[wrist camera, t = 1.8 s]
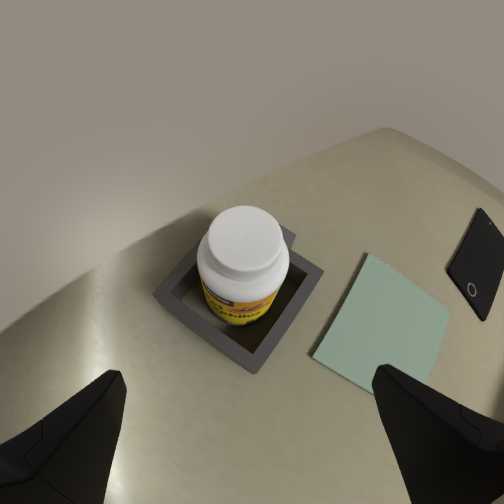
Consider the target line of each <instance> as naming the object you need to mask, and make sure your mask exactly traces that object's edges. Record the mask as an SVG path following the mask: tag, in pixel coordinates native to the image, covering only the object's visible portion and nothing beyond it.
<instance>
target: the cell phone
mask: <svg viewBox="0 0 504 504" xmlns="http://www.w3.org/2000/svg"><path fill="white" fill-rule="evenodd" d="M503 271H504V237H503V235H502V234H501V232H500V231H499V230H498V228H497V227H496V226H495V224H494V223H493V222H492V220H491V219H490V218H489V217H488V215H487V214H486V213H485V211H484V210H483V209H482V208H480V209H479V210H478V212H477V214H476V216H475V218H474V220H473V222H472V224H471V227H470V229H469V231H468V233H467V235H466V237H465V239H464V241H463V242H462V244H461V246H460V248H459V250H458V252H457V254H456V255H455V257H454V259H453V261H452V262H451V264H450V266H449V268H448V269H447V274H448V275H449V277H450V278H451V280H452V281H453V282H454V284H455V285H456V286H457V288H458V289H459V290H460V292H461V293H462V294H463V296H464V297H465V299H466V300H467V301H468V303H469V304H470V306H471V307H472V309H473V310H474V312H475V313H476V314H477V316H478V318H479V319H480V320H481V321H482V322H483V321H485V320H486V318H487V316H488V314H489V311H490V309H491V306H492V303H493V301H494V298H495V295H496V292H497V290H498V287H499V284H500V280H501V277H502V274H503Z"/></svg>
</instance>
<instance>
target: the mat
mask: <svg viewBox="0 0 504 504" xmlns="http://www.w3.org/2000/svg"><path fill="white" fill-rule="evenodd" d="M449 315H450V311H449V310H448V309H447V308H445V307H444V306H443V305H442V304H440V303H439V302H438V301H436V300H435V299H434V298H432V297H431V296H430V295H429V294H427V293H426V292H425V291H423V290H422V289H421V288H419V287H418V286H417V285H415V284H414V283H412V282H411V281H410V280H408V279H407V278H406V277H404V276H403V275H401V274H400V273H399V272H397V271H396V270H394V269H393V268H392V267H390V266H389V265H387V264H386V263H385V262H383V261H382V260H380V259H379V258H377V257H376V256H374V255H373V254H371V253H370V252H369V253H368V255H367V257H366V259H365V261H364V263H363V265H362V267H361V269H360V271H359V273H358V275H357V277H356V279H355V281H354V283H353V285H352V287H351V289H350V291H349V293H348V295H347V297H346V298H345V300H344V302H343V304H342V306H341V308H340V309H339V311H338V313H337V315H336V317H335V318H334V320H333V322H332V324H331V325H330V327H329V329H328V331H327V332H326V334H325V336H324V337H323V339H322V341H321V342H320V344H319V346H318V347H317V349H316V350H315V352H314V354H313V355H312V357H311V358H312V359H314V360H316V361H317V362H319V363H320V364H322V365H324V366H325V367H327V368H328V369H330V370H332V371H333V372H335V373H337V374H338V375H340V376H342V377H343V378H345V379H347V380H348V381H350V382H352V383H353V384H355V385H357V386H359V387H360V388H362V389H364V390H365V391H367V392H369V393H371V394H372V395H374V393H373V389H372V379H373V377H374V374H375V372H376V369H377V367H378V366H379V365H383V364H390V365H392V366H394V367H396V368H397V369H399V370H401V371H402V372H404V373H406V374H408V375H409V376H411V377H413V378H415V379H416V380H418V381H420V382H422V383H423V384H425V385H426V383H427V380H428V378H429V376H430V373H431V370H432V368H433V365H434V362H435V360H436V357H437V354H438V351H439V348H440V345H441V342H442V339H443V336H444V333H445V329H446V326H447V322H448V319H449Z"/></svg>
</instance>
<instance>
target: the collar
mask: <svg viewBox="0 0 504 504" xmlns="http://www.w3.org/2000/svg"><path fill="white" fill-rule="evenodd" d="M279 226H280V228H281V231H282V235H283V239H284V241H285V243H286V246H287V249H288V252H289V267H288V271H287V274H286V278H287V279H289V280H290V281H292V282H293V283H295V284H296V285H298V286H299V288H298V290H297V291H296V293H295V294H294V296H293V297H292V299H291V300H290V302H289V303H288V305H287V306H286V308H285V309H284V311H283V312H282V314H281V315H280V316H279V318H278V319H277V321H276V322H275V324H274V325H273V327H272V328H271V329H270V331H269V332H268V334H267V335H266V337H265V338H264V339H263V341H262V342H261V344H260V345H259V346H258V348H257V349H256V350H255V352H254V353H253V354H252V353H250V352H249V351H247V350H246V349H244V348H243V347H242V346H240V345H239V344H237V343H236V342H234V341H233V340H232V339H230V338H229V337H227V336H226V335H225V334H223V333H222V332H221V331H219V330H218V329H216V328H215V327H214V326H212V325H211V324H210V323H208V322H207V321H206V320H204V319H203V318H202V317H200V316H199V315H198V314H196V313H195V312H194V311H193V310H191V309H190V308H189V307H187V306H186V305H185V304H184V303H182V302H181V301H180V300H181V299H182V297H183V296H184V295H185V294H186V293H187V291H188V290H189V289H190V288H191V287H192V285H193V284H194V283H195V282H196V281H197V280H198V278H199V277H200V274H199V270H198V265H197V252H198V248H199V245H200V242H201V240H202V239H201V240H200V241H199V242H198V243H197V244H196V245H195V246H194V248H193V249H192V250H191V251H190V252H189V253H188V254H187V255H186V256H185V258H184V259H183V260H182V261H181V262H180V263H179V264H178V265H177V267H176V268H175V269H174V270H173V271H172V272H171V273H170V275H169V276H168V277H167V278H166V279H165V280H164V281H163V283H162V284H161V285H160V286H159V287H158V288H157V290H156V291H155V292H154V293H153V294H152V295H153V296H154V297H155V299H156V300H157V301H158V302H159V303H160V304H161V306H163V307H164V308H165V309H166V310H167V311H169V312H170V313H171V314H172V315H173V316H175V317H176V318H177V319H178V320H180V321H181V322H182V323H183V324H185V325H186V326H187V327H188V328H190V329H191V330H192V331H194V332H195V333H196V334H197V335H199V336H200V337H201V338H203V339H204V340H205V341H207V342H208V343H209V344H211V345H212V346H213V347H215V348H216V349H218V350H219V351H220V352H222V353H223V354H224V355H226V356H227V357H229V358H230V359H231V360H233V361H234V362H236V363H237V364H239V365H240V366H242V367H243V368H244V369H246V370H247V371H249V372H250V373H252V374H257V372H258V371H259V370H260V368H261V367H262V365H263V364H264V363H265V361H266V360H267V358H268V357H269V356H270V354H271V353H272V351H273V350H274V348H275V347H276V345H277V344H278V343H279V341H280V340H281V338H282V337H283V335H284V334H285V332H286V331H287V329H288V328H289V326H290V325H291V323H292V322H293V320H294V319H295V317H296V316H297V314H298V313H299V311H300V310H301V308H302V306H303V305H304V303H305V302H306V300H307V299H308V297H309V295H310V294H311V292H312V291H313V289H314V287H315V286H316V284H317V283H318V281H319V279H320V278H321V276H322V274H323V273H324V271H323V270H322V269H320V268H319V267H317V266H316V265H314V264H313V263H311V262H310V261H308V260H306V259H305V258H303V257H302V256H300V255H299V254H297V253H296V252H294V251H292V250H291V247H292V244H293V242H294V240H295V237H296V234H294V233H293V232H291V231H289V230H288V229H286V228H285V227H283V226H281V225H280V224H279Z"/></svg>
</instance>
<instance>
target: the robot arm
mask: <svg viewBox="0 0 504 504" xmlns="http://www.w3.org/2000/svg"><path fill="white" fill-rule="evenodd" d="M372 389H373V393H374V396H375V400H376V403H377V407H378V411H379V414H380V418H381V421H382V423H383V426H384V428H385V431H386V434H387V436H388V439H389V441H390V444H391V447H392V449H393V452H394V455H395V457H396V460H397V463H398V465H399V468H400V471H401V474H402V477H403V480H404V483H405V486H406V488H407V491H408V494H409V498H410V501H411V502H412V503H411V504H504V423H501V422H498V421H496V420H493V419H491V418H488V417H486V416H484V415H481V414H479V413H477V412H475V411H473V410H471V409H469V408H467V407H465V406H463V405H461V404H458V402H456V401H454V400H452V399H450V398H448V397H447V396H445V395H443V394H441V393H439V392H438V391H436V390H434V389H432V388H431V387H429V386H427V385H425V384H423V383H422V382H420V381H418V380H416V379H415V378H413V377H411V376H409V375H408V374H406V373H404V372H402V371H401V370H399V369H397V368H396V367H394V366H392V365H390V364H383V365H379V366H378V367H377V369H376V372H375V374H374V377H373V379H372ZM126 393H127V389H126V385H125V382H124V379H123V377H122V374H121V372H120V371H117V370H108V371H106V372H105V373H103V374H102V375H101V376H99V377H98V378H97V379H95V380H94V381H93V382H91V383H90V384H89V385H87V386H86V387H85V388H83V389H82V390H81V391H79V392H78V393H76V394H75V395H74V396H72V397H71V398H70V399H68V400H67V401H66V402H64V403H63V404H62V405H60V406H59V407H57V408H56V409H55V410H53V411H52V412H51V413H49V414H48V415H47V416H45V417H44V418H43V419H42V420H40V421H38V422H37V423H35V424H34V425H33V426H31V427H30V428H28V429H27V430H25V431H24V432H22V433H20V434H19V435H17V436H15V437H13V438H12V439H10V440H8V441H6V442H4V443H2V444H1V445H0V504H103V503H104V498H105V493H106V488H107V483H108V478H109V474H110V470H111V465H112V461H113V457H114V453H115V449H116V445H117V441H118V438H119V434H120V430H121V424H122V418H123V411H124V405H125V399H126Z"/></svg>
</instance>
